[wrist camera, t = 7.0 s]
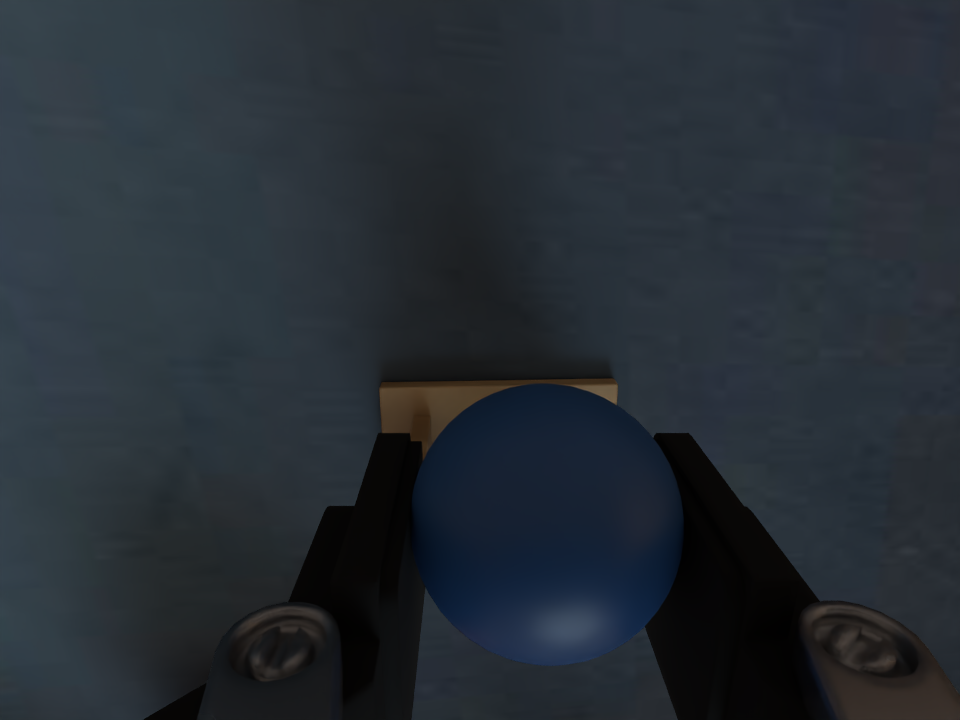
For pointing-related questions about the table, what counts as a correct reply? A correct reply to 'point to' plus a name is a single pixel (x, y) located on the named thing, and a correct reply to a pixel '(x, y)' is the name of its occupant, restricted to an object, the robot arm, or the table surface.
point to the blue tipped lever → (547, 524)
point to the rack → (454, 402)
